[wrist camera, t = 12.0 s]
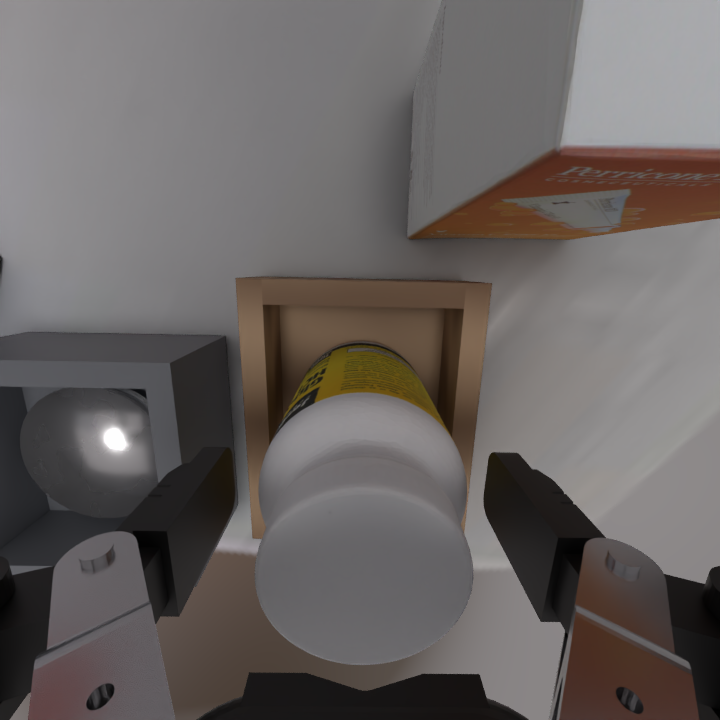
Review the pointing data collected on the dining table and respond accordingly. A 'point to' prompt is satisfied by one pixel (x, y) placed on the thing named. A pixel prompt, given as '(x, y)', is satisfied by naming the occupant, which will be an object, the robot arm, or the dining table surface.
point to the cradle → (103, 370)
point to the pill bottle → (363, 513)
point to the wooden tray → (351, 324)
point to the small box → (566, 118)
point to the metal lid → (91, 449)
